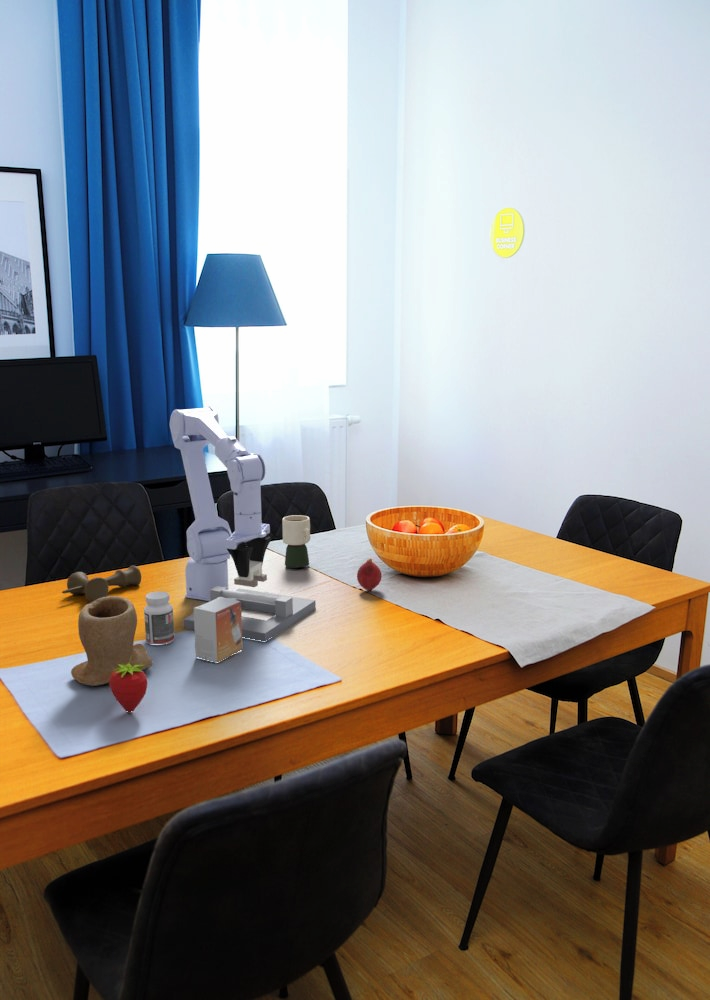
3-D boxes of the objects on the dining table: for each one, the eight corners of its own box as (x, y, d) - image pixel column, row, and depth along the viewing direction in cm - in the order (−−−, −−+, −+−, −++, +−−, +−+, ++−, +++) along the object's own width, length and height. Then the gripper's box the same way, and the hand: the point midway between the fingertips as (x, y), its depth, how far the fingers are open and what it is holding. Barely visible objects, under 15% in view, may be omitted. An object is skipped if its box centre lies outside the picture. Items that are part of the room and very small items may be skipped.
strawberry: (135, 699, 156) (131, 645, 153) (157, 714, 150) (153, 658, 148) (103, 710, 152) (99, 655, 149) (125, 725, 146) (121, 668, 144)
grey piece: (183, 628, 189) (182, 602, 188) (239, 596, 208) (238, 573, 207) (265, 642, 180) (264, 616, 179) (315, 608, 200) (315, 584, 199)
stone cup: (94, 698, 156) (88, 617, 153) (64, 678, 165) (57, 601, 161) (169, 673, 166) (165, 597, 163) (136, 655, 175) (132, 582, 171)
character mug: (320, 569, 229) (320, 519, 226) (298, 574, 224) (297, 524, 221) (295, 559, 237) (294, 512, 234) (273, 564, 233) (272, 516, 230)
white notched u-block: (234, 584, 191) (233, 566, 190) (247, 577, 196) (246, 559, 195) (254, 587, 189) (253, 569, 188) (266, 579, 194) (266, 562, 193)
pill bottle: (179, 637, 183) (177, 592, 181) (165, 648, 178) (162, 600, 176) (155, 634, 185) (152, 589, 183) (140, 644, 180) (137, 597, 178)
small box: (217, 665, 170) (214, 612, 168) (194, 659, 173) (192, 607, 170) (243, 651, 177) (241, 600, 174) (221, 645, 179) (219, 595, 177)
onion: (379, 595, 208) (379, 562, 206) (354, 594, 209) (354, 561, 208) (383, 587, 214) (383, 555, 212) (359, 586, 215) (359, 554, 213)
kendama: (149, 590, 215) (73, 609, 201) (126, 583, 222) (52, 600, 207) (147, 566, 214) (72, 583, 200) (125, 559, 221) (50, 575, 206)
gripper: (245, 521, 181) (247, 585, 184) (281, 506, 194) (282, 566, 197) (216, 517, 184) (219, 580, 187) (253, 503, 197) (255, 562, 200)
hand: (249, 572), depth 192 cm, fingers closed on white notched u-block, 5 cm apart
